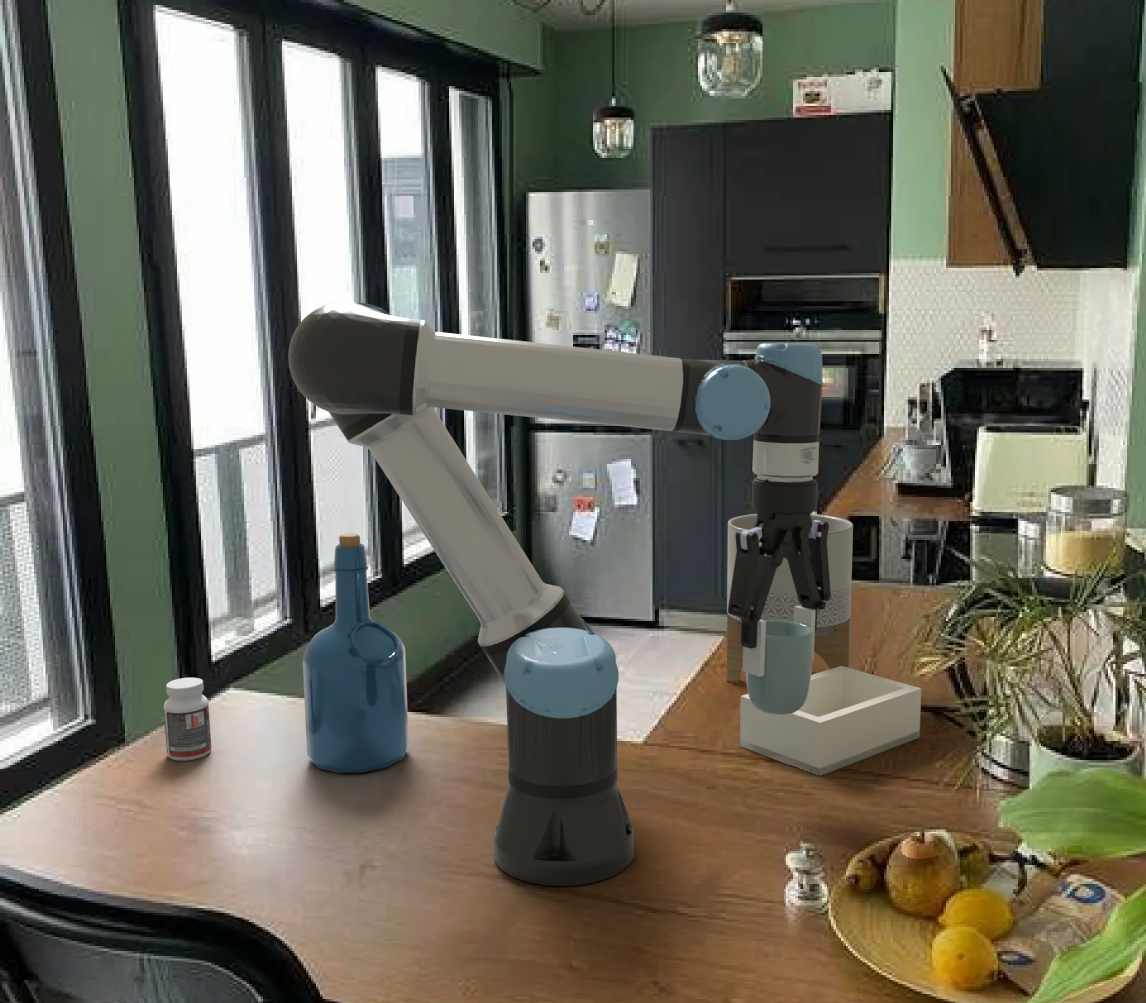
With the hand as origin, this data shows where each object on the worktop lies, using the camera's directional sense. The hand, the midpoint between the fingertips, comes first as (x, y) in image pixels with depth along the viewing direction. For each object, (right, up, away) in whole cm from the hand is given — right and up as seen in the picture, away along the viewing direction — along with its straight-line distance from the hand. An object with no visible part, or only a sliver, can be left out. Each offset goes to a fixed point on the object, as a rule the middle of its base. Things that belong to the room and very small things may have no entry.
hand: (778, 666), depth 135 cm
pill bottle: (-76, -14, +17) cm, 79 cm away
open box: (+10, -13, +19) cm, 25 cm away
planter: (+9, -9, +43) cm, 45 cm away
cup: (0, -5, +1) cm, 6 cm away
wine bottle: (-53, -14, +15) cm, 57 cm away
